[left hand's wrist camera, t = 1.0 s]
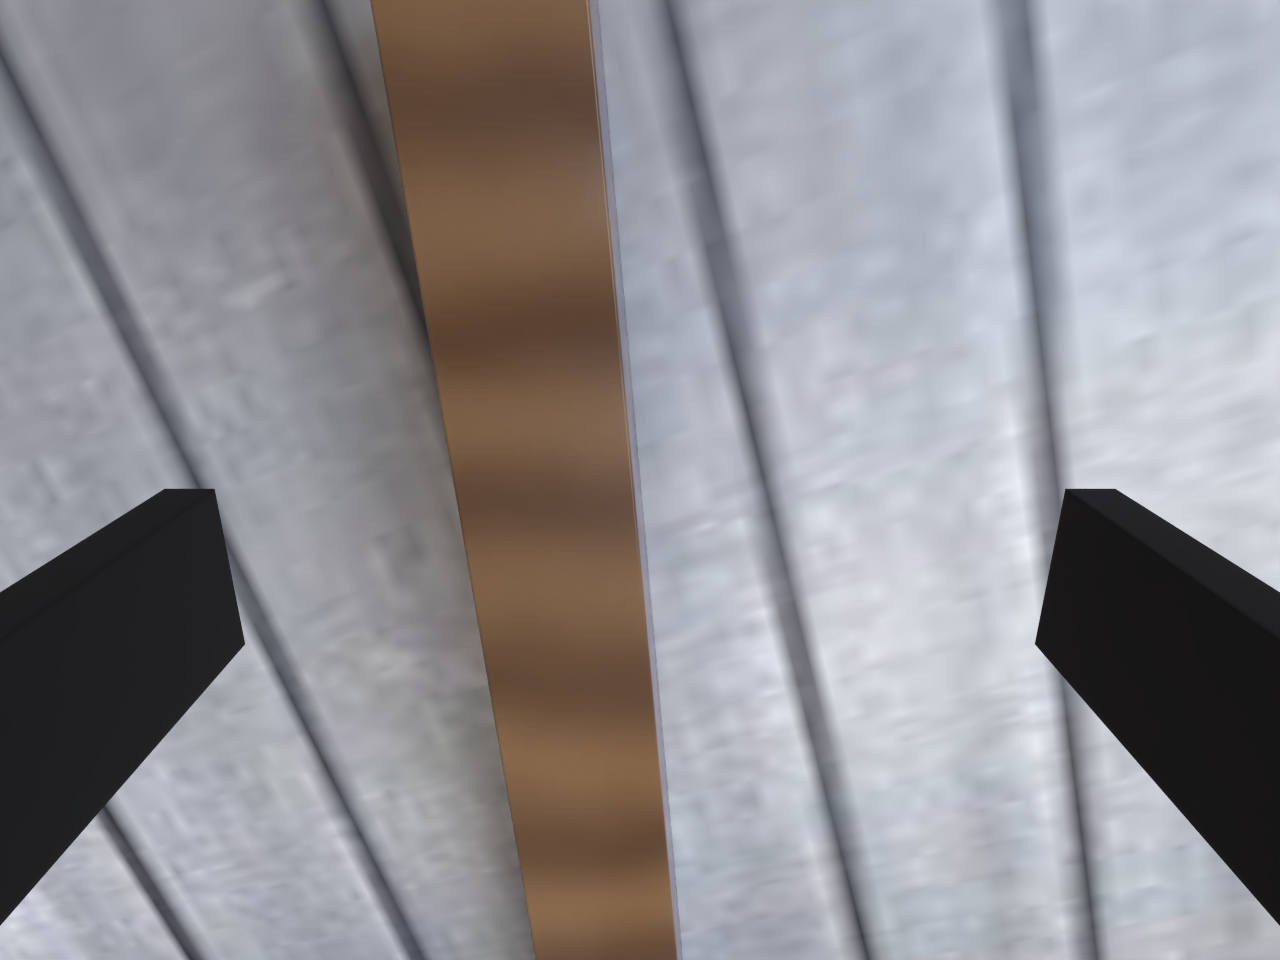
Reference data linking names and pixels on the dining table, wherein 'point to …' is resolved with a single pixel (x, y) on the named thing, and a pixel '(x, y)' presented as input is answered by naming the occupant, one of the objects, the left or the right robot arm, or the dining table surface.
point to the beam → (542, 445)
